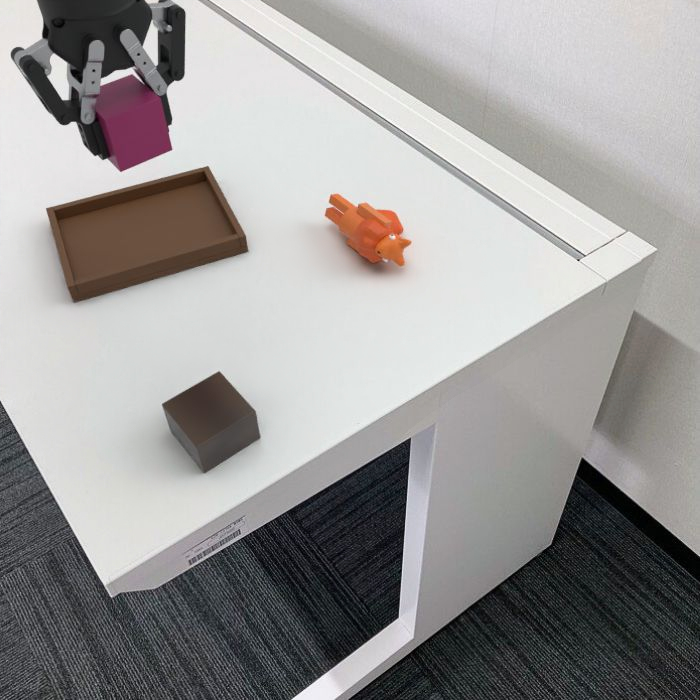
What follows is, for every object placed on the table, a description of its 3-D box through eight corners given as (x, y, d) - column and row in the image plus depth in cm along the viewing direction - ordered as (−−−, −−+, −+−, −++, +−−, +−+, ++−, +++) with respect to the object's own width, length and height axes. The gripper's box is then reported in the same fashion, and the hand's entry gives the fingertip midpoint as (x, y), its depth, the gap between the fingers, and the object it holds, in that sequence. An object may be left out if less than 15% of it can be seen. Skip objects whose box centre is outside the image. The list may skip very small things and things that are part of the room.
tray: (73, 302, 81) (67, 287, 80) (51, 223, 90) (45, 208, 89) (248, 251, 86) (246, 235, 85) (211, 181, 95) (208, 165, 94)
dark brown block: (204, 473, 67) (196, 447, 64) (170, 430, 70) (161, 403, 67) (261, 437, 69) (256, 411, 66) (225, 397, 72) (219, 370, 69)
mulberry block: (120, 172, 64) (104, 119, 60) (94, 146, 67) (77, 94, 63) (172, 150, 66) (160, 97, 62) (145, 125, 69) (132, 73, 65)
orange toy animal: (317, 187, 84) (390, 240, 78) (366, 179, 89) (438, 229, 83) (308, 227, 87) (378, 281, 81) (356, 218, 92) (425, 269, 86)
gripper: (139, -107, 58) (182, 96, 71) (-48, -56, 52) (35, 154, 65) (189, -79, 54) (225, 131, 67) (-8, -20, 48) (72, 196, 61)
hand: (131, 141), depth 66 cm, fingers closed on mulberry block, 5 cm apart
